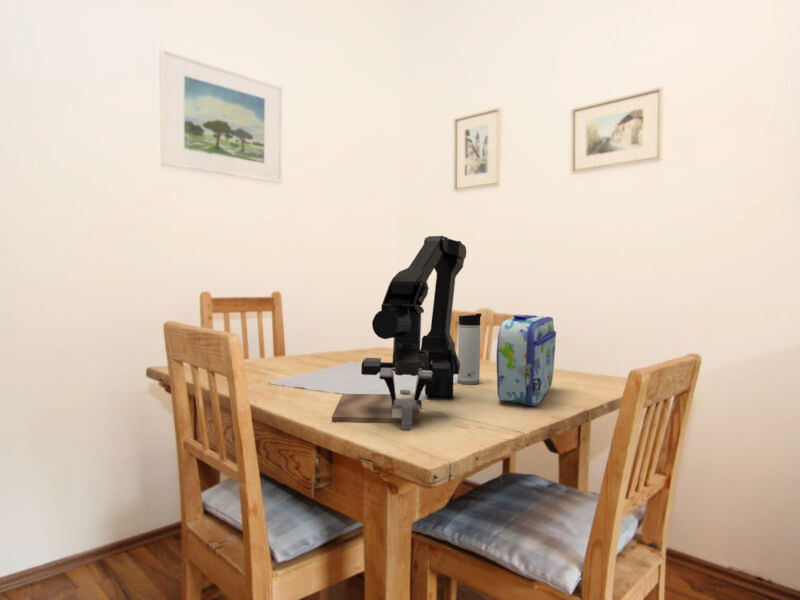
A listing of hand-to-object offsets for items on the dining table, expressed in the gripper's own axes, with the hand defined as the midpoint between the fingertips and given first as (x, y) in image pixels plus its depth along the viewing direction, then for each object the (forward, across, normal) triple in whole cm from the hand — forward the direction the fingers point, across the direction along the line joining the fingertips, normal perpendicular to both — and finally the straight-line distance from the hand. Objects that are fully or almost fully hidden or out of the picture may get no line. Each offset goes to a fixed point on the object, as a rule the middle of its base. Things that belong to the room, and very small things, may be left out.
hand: (404, 407), depth 105 cm
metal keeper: (+2, 0, -8) cm, 8 cm away
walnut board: (+2, -6, +4) cm, 7 cm away
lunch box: (+1, +31, +18) cm, 36 cm away
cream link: (0, 0, 0) cm, 1 cm away
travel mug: (+2, +19, +35) cm, 40 cm away
